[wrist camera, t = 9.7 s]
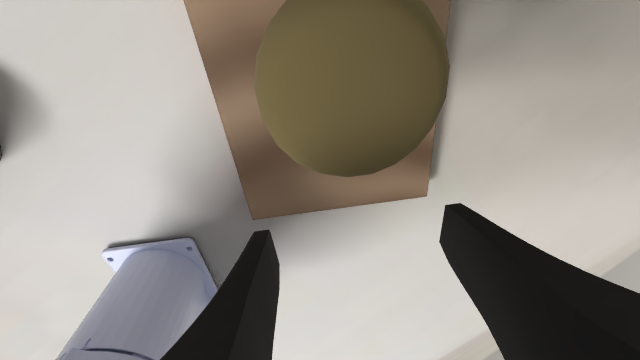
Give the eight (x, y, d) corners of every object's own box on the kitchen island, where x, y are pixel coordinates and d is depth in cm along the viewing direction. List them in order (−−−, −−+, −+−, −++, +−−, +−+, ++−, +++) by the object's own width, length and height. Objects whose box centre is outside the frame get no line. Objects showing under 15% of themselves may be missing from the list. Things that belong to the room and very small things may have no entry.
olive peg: (246, 33, 15) (159, 68, 5) (339, -45, 13) (440, -176, 4) (309, 120, 18) (323, 241, 8) (392, 64, 16) (521, 135, 7)
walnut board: (419, 186, 23) (426, 196, 22) (255, 208, 23) (252, 219, 22) (463, -252, 11) (484, -286, 10) (129, -210, 11) (108, -238, 10)
